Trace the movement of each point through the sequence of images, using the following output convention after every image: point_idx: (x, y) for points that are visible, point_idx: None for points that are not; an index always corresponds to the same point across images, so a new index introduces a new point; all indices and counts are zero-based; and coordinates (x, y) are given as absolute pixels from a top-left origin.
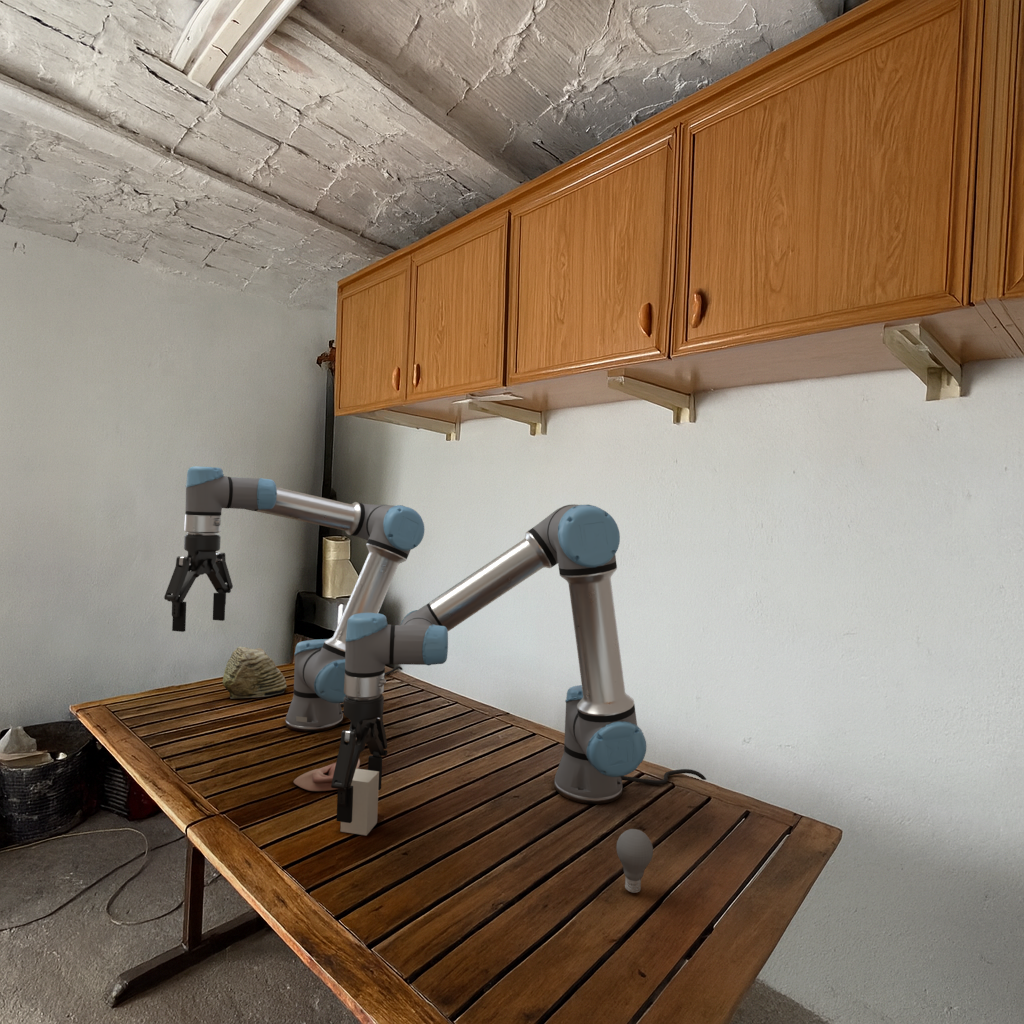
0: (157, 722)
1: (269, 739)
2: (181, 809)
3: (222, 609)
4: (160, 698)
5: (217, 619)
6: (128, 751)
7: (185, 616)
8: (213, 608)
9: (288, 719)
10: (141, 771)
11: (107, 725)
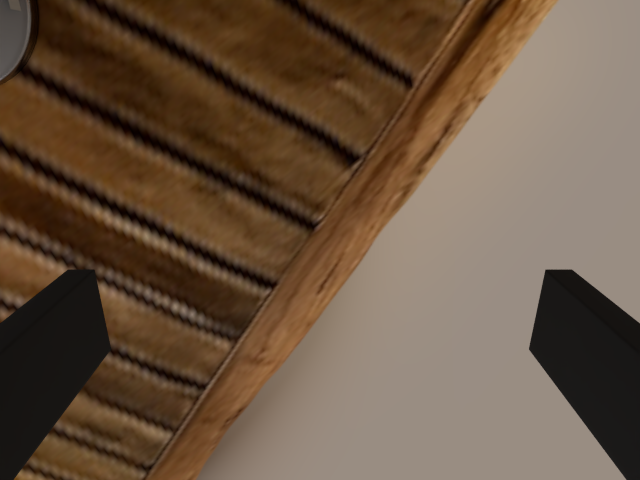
0: (155, 366)
1: (122, 58)
2: (531, 9)
3: (38, 326)
4: (40, 449)
5: (100, 315)
6: (305, 312)
7: (622, 335)
8: (59, 412)
9: (13, 53)
10: (382, 222)
11: (210, 431)
